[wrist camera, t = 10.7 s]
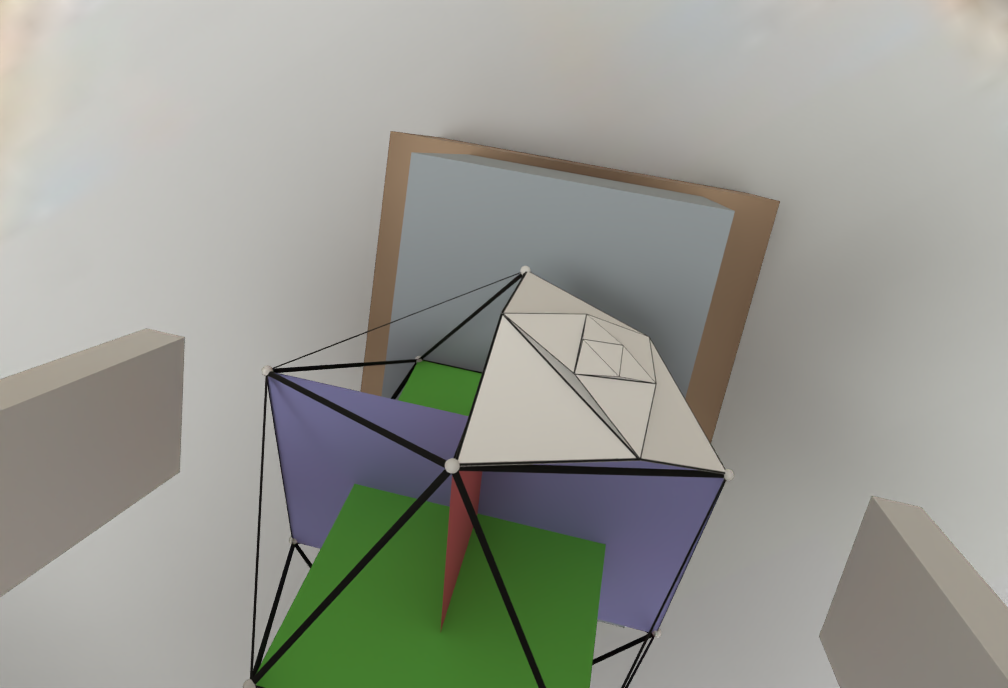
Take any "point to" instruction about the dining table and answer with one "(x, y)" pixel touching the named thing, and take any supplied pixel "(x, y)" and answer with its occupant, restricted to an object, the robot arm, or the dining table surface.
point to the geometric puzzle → (487, 507)
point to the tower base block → (750, 209)
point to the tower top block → (547, 257)
